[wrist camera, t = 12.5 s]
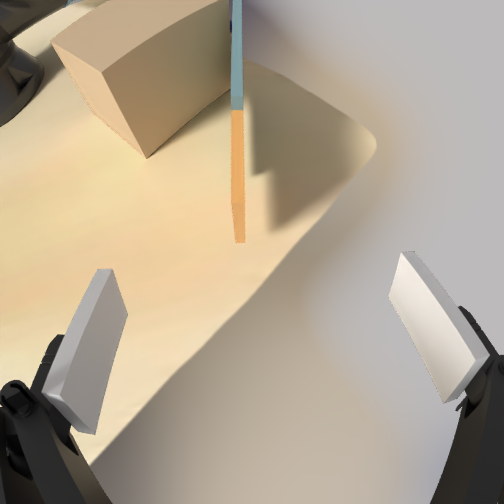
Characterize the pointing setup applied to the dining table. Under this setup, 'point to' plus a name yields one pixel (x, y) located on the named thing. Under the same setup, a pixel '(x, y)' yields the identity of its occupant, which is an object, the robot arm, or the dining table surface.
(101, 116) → the kraft box
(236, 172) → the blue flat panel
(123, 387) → the dining table surface
